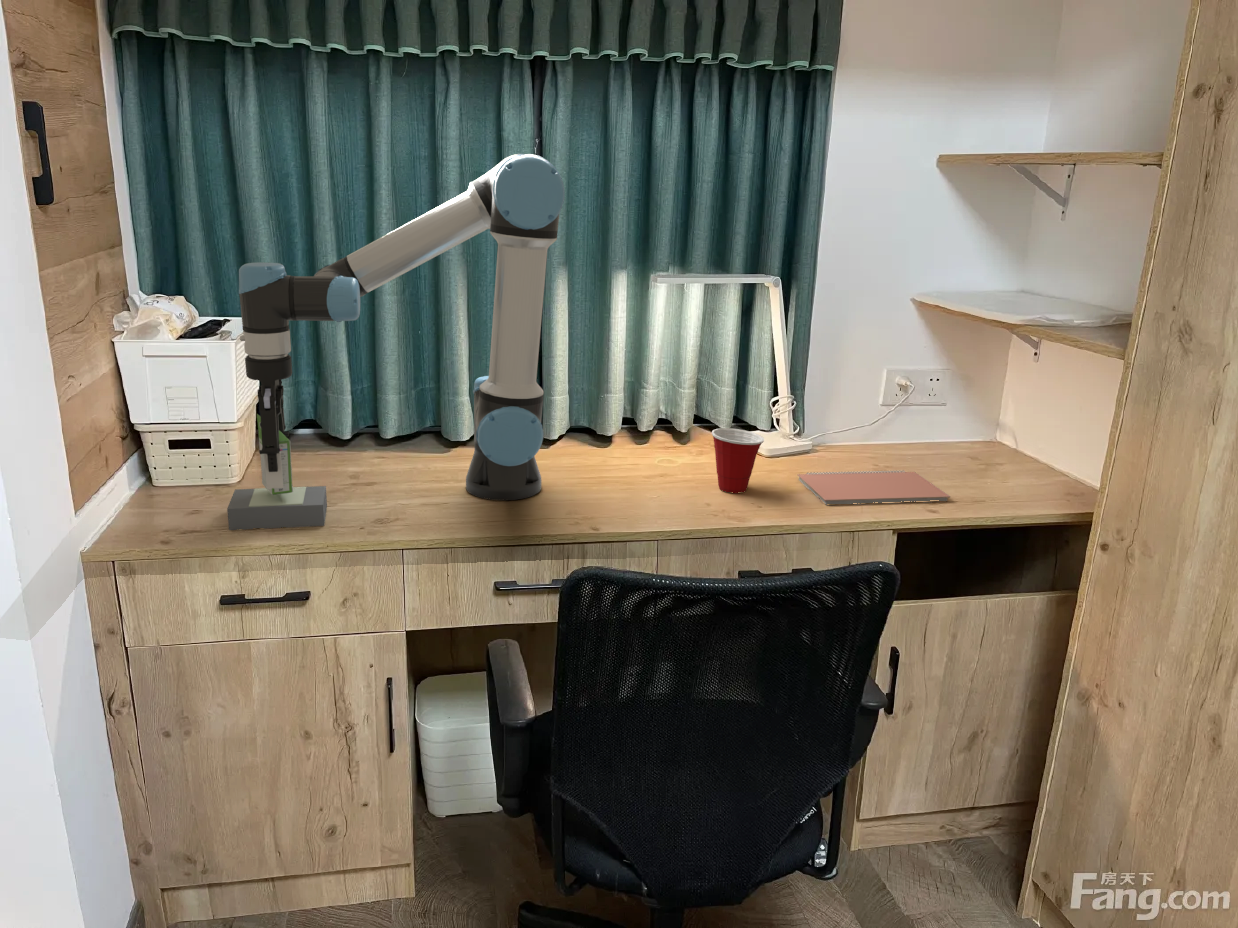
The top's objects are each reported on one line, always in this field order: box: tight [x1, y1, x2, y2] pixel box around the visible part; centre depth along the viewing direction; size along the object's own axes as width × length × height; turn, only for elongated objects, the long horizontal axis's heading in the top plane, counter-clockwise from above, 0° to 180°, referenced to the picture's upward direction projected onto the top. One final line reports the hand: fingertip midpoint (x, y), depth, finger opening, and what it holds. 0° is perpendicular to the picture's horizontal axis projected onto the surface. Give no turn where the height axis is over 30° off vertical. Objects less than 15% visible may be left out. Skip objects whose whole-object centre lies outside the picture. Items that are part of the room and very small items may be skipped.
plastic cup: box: [711, 427, 765, 494], centre depth 200 cm, size 11×11×12 cm
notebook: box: [797, 469, 951, 506], centre depth 204 cm, size 27×17×2 cm, turn 101°
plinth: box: [226, 485, 328, 531], centre depth 176 cm, size 16×10×4 cm, turn 103°
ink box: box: [256, 413, 294, 495], centre depth 173 cm, size 7×4×13 cm, turn 33°
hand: (277, 479), depth 174 cm, fingers closed on ink box, 8 cm apart
